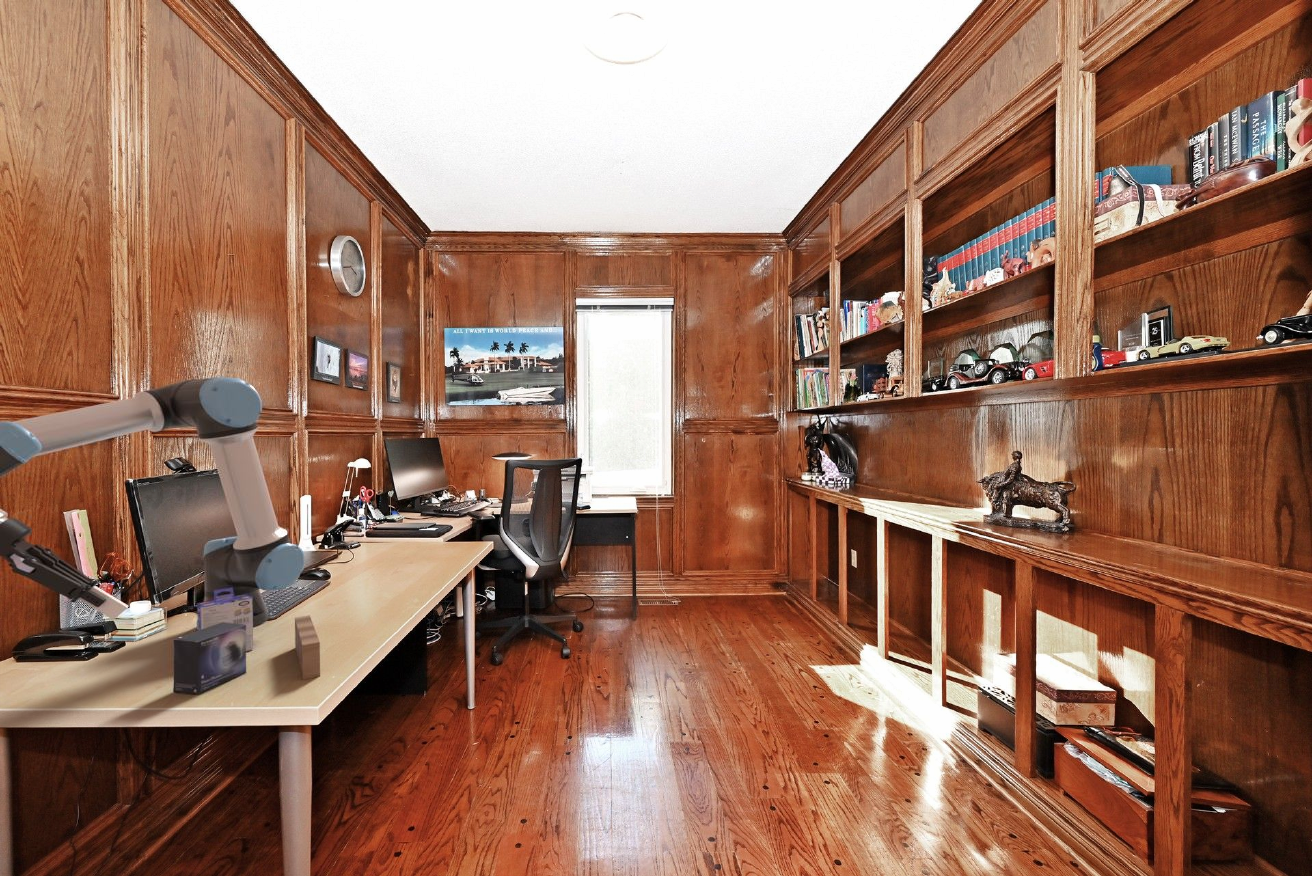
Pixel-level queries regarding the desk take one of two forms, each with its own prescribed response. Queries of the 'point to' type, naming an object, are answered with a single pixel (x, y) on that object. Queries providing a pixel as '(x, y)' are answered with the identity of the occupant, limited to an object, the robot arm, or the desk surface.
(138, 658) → the desk surface
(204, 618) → the ink cartridge box
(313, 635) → the walnut board
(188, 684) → the small box
